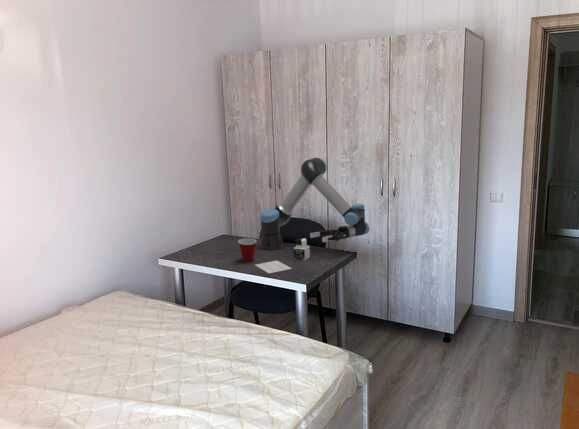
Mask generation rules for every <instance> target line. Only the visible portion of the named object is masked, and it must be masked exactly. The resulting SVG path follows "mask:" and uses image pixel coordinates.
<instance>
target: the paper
mask: <svg viewBox="0 0 579 429" xmlns="http://www.w3.org/2000/svg"><path fill="white" fill-rule="evenodd" d="M254 266H255V267H256V268H258V269H260V270H262V271H263V272H265V273H266V274H274V273H279V272H283V271H287V270H288V271H289V270H292V267H290V266H288V265H286V264H285V263H282V262H281V261H279V260H277V259H275V260H272V261H267V262H262V263H257V264H254Z"/></svg>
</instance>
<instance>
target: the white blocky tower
mask: <svg viewBox="0 0 579 429" xmlns="http://www.w3.org/2000/svg"><path fill="white" fill-rule="evenodd" d="M307 243H308V241H307V238H305V237H298V238H296V239H295V244H296V246H295V247H293V260H296V261H303V262H305V261H307V260H308V259H310V258H311V249H310V248H311V246H310V245H308V244H307Z"/></svg>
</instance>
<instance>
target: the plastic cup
mask: <svg viewBox="0 0 579 429" xmlns="http://www.w3.org/2000/svg"><path fill="white" fill-rule="evenodd" d="M237 243H238V245H239V248H240V253H241V257H242V260H243V262H246V263H247V262H248V263H250V262H253V261H254V256H255V248H256V243H257V240H256V239H254V238H242V239H241V238H240V239H238V240H237Z"/></svg>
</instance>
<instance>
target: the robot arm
mask: <svg viewBox="0 0 579 429" xmlns="http://www.w3.org/2000/svg"><path fill="white" fill-rule="evenodd" d="M326 172H327V163H326V161H324V159H323V158H321V157H313V158H310V159H307V160H305V161H304V162H303V163H302V164H301V165H300V176H299V178H298V179H297V181H296V182H295V183H294V185H293V186H292V188H291V189H290V190H289V192H288V193H287V195H286V196H284V198H283V200H282V202H278V203H277V205H276V206H275V208H271V209H266V210H263V211H261V213H260V229H261V238H260V242H259V248H260V250H263V251H265V250H266V251H272V250H273V251H274V250H279V249H282V248H283V247H284V242H283V239H282V237H281V233H280V232H281V230H280V227H282V226H285V225H286V224H288V223H289V221H290V220H291V217H292V215H293V213H294V212H293V210H294V209H295V207H296V206H297V205H298V203H300V200H302V198H303V196H304V195H305V194H306V192H307V191H308V190H309V188H310V187H311V186H314V187H315V188H316V189H317V191H319V192H320V194H321V195H322V196H323V197H324V198H325V199H326V200H327V201H328V202H329V203H330V204H331V206H332V207H333V208H334V209H335V210H336V211H337V212H338V213H339V214H340V215H341V217H343V219H344V223H345V224H346V225H343V226H339V227H338V228H337V229H332V228H331V229H325V230H322V229H321V230H317V231H316V232H315V231H314V232H310V233H309V236H310V237H309V238H310V239H312V238H317V237H321V236H322V238H321V239H322V240H321V241H322V243H326V242H331V241H336V242H338V241H340V240H344V239H352V238H353V237H357V236H363V235H367V234H368V233H369V231H370V225H369V223H368V222H366V216H365V214H366V212H365V211H366V210H365V204H363V203H354V204H352V205H350V204H349V202H348V201H347V200H346V199H344V198H343V196H342V195H341V194H340V193H339V192H338V191H337V190H336V188H334V186H332V184H330V183H329V182H328V181H327V179H326V178H325V177H324V175H325V173H326Z"/></svg>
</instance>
